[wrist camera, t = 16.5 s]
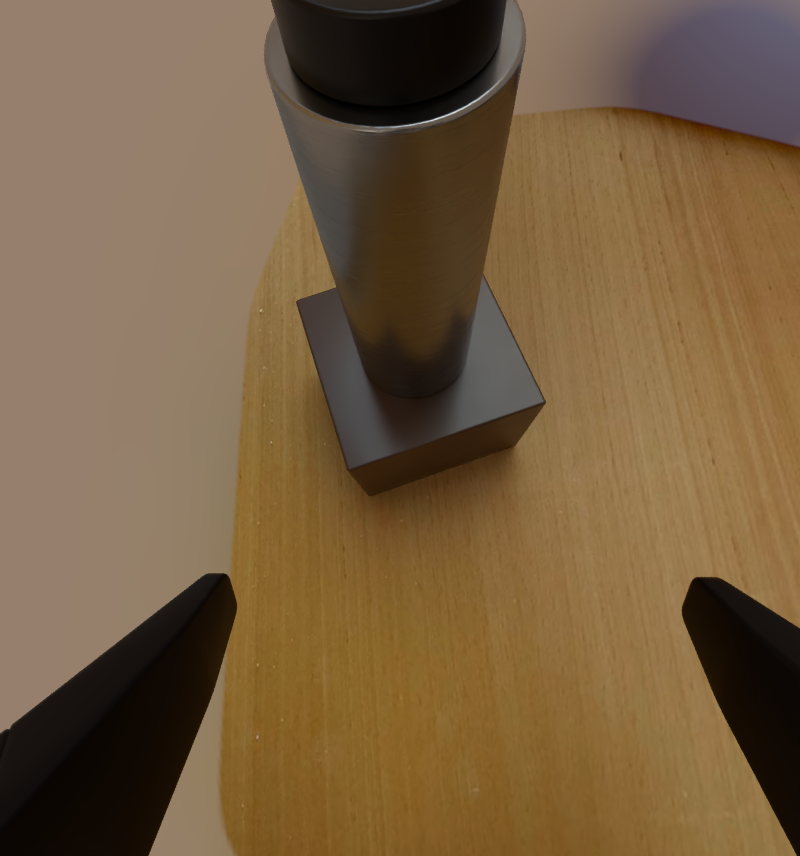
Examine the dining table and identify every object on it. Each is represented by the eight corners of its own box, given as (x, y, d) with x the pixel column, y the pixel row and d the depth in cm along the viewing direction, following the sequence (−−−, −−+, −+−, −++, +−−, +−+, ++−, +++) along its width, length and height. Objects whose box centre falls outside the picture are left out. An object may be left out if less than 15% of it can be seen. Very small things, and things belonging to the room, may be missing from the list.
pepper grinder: (455, 409, 16) (517, 51, 5) (346, 386, 17) (182, 19, 6) (477, 311, 18) (566, -150, 6) (375, 293, 18) (288, -159, 7)
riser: (368, 497, 22) (347, 471, 16) (326, 363, 24) (295, 299, 18) (516, 445, 22) (547, 402, 16) (459, 318, 24) (469, 243, 19)
